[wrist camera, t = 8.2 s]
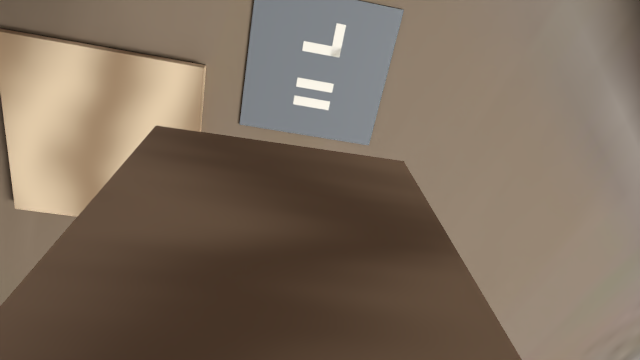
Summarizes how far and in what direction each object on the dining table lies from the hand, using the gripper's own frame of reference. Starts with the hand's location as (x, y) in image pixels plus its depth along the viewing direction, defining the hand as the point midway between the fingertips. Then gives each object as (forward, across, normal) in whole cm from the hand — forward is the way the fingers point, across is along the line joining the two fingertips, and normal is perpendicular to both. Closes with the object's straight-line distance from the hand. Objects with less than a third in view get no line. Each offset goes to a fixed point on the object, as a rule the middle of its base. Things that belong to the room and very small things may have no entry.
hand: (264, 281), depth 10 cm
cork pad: (+20, +11, +6) cm, 23 cm away
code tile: (+20, -2, -1) cm, 20 cm away
